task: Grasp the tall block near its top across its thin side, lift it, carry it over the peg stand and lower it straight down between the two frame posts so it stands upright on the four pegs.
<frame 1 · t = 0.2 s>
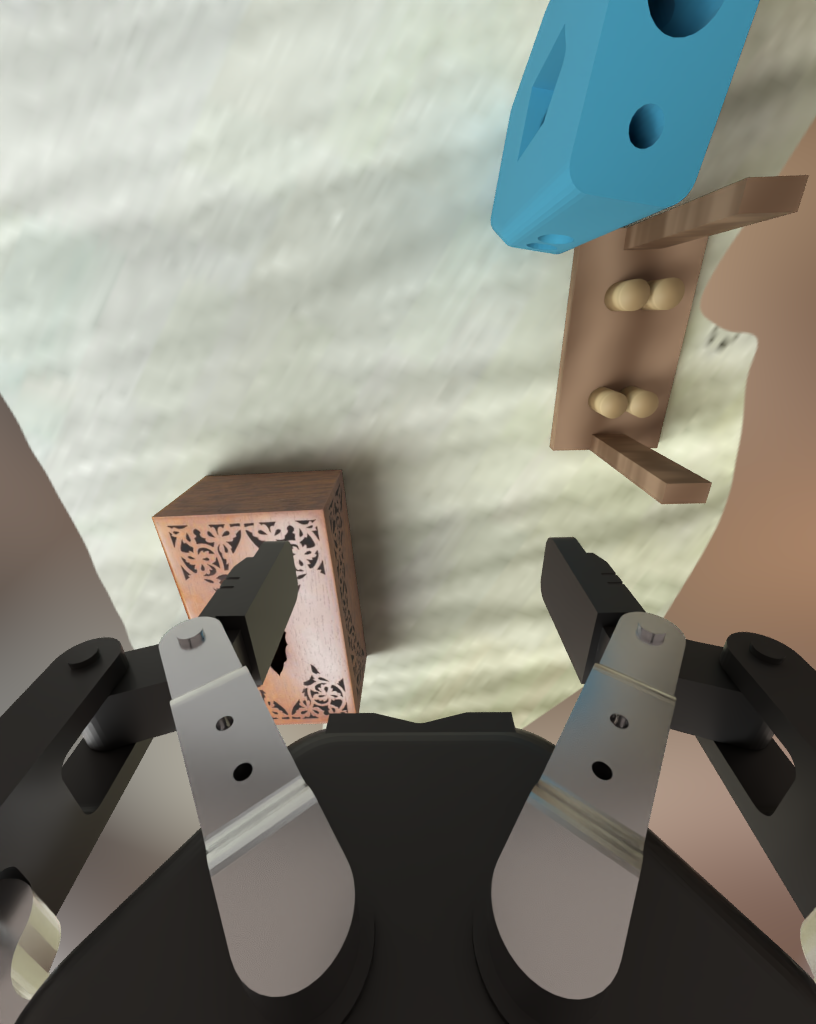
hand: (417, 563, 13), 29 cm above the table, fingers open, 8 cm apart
tissue box cover: (295, 573, 49), on the table
block: (531, 173, 32), on the table
peg stand: (617, 349, 37), on the table
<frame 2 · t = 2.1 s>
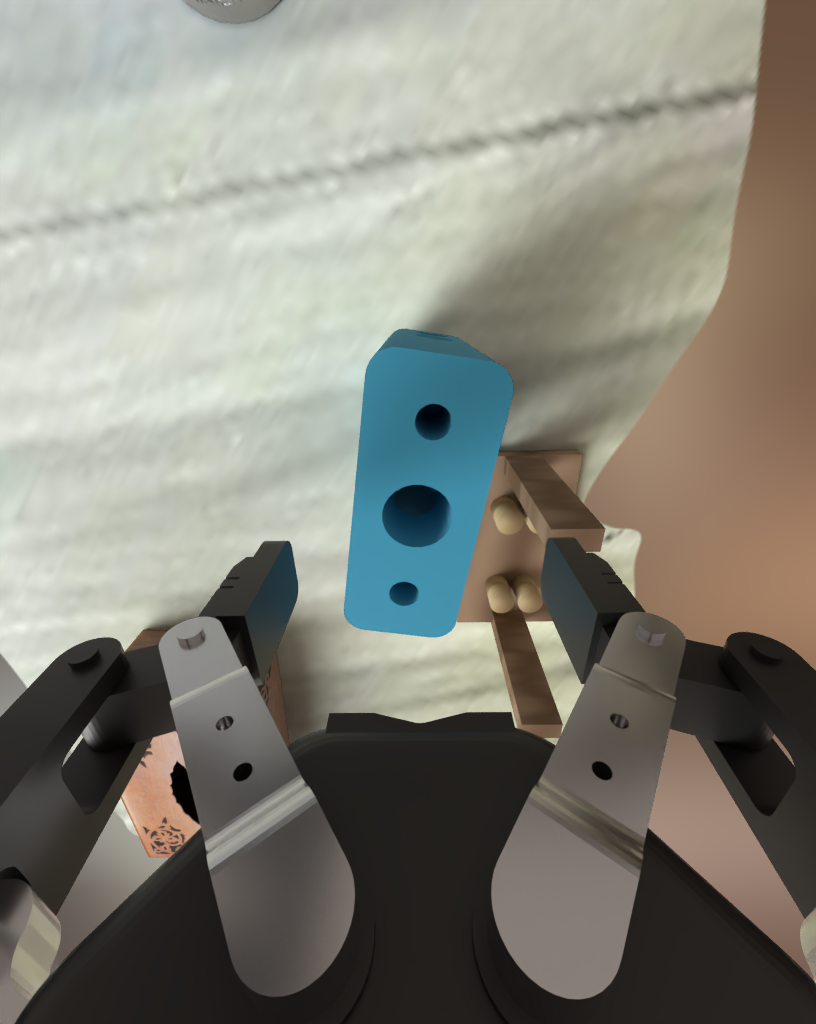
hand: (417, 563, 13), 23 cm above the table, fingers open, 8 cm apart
tissue box cover: (228, 708, 51), on the table
block: (414, 406, 34), on the table
peg stand: (510, 540, 39), on the table
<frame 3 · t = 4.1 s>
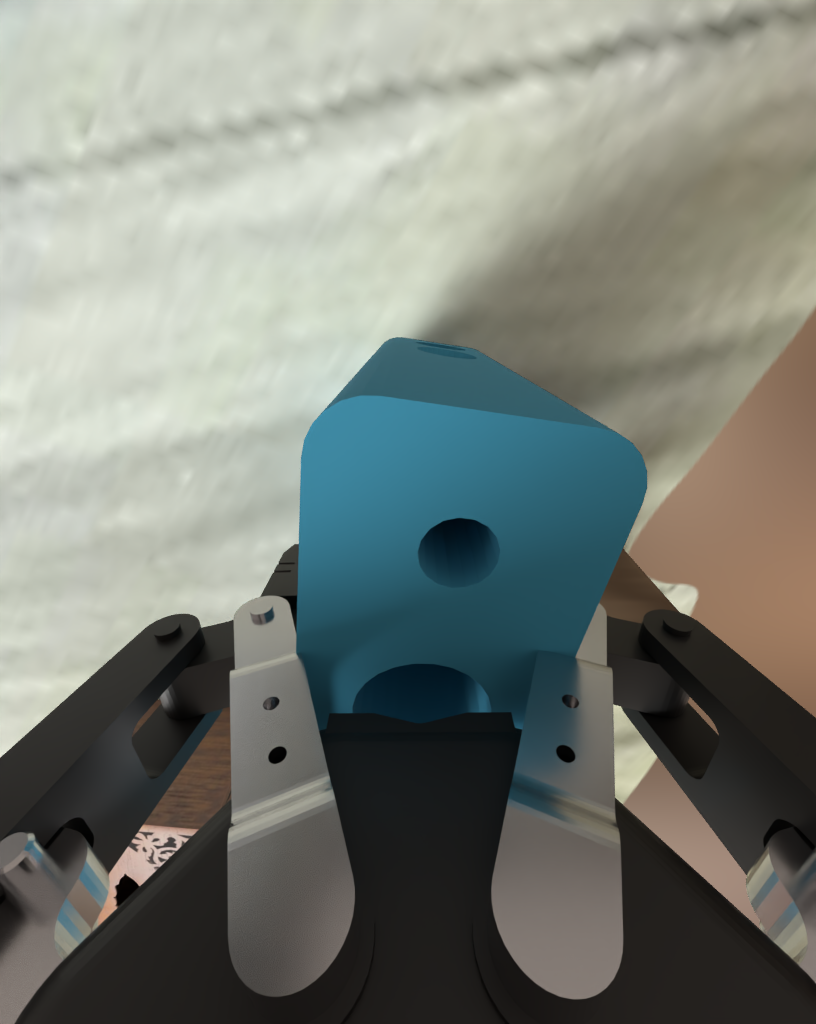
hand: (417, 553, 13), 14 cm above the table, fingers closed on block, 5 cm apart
tissue box cover: (195, 781, 43), on the table
block: (414, 435, 26), on the table, touching gripper
peg stand: (534, 598, 32), on the table
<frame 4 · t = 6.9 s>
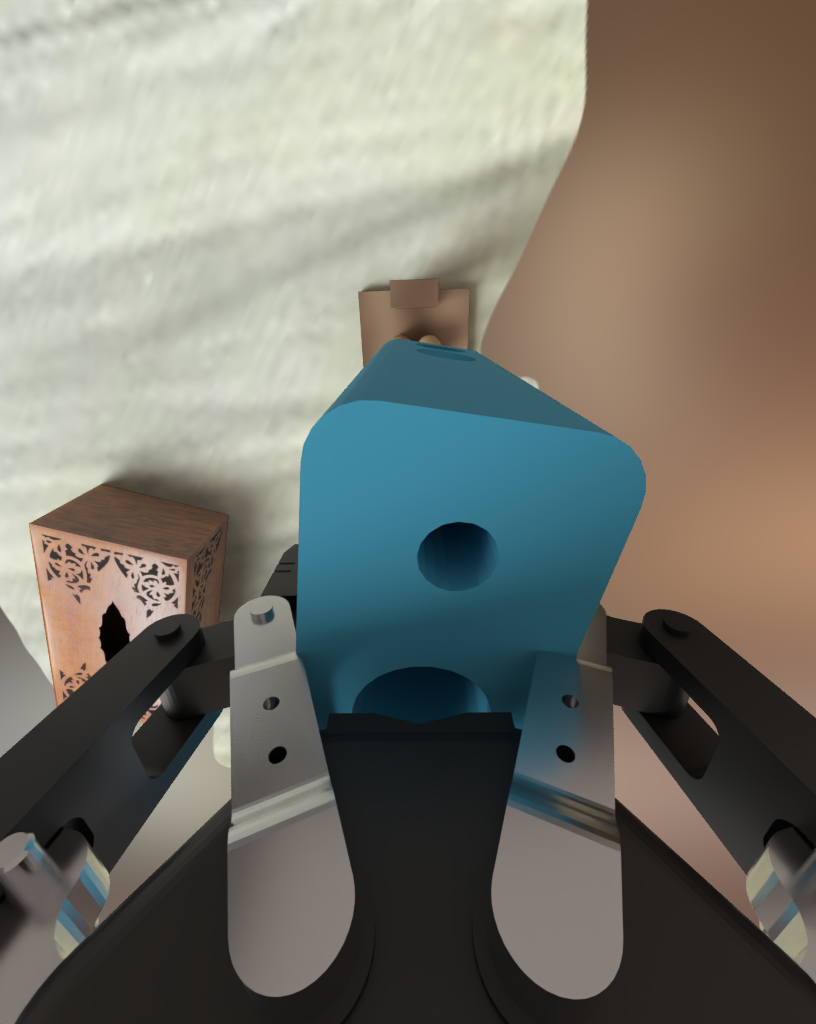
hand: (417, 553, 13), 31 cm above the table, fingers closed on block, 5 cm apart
tissue box cover: (166, 584, 53), on the table
block: (414, 436, 26), point 17 cm above the table, touching gripper
peg stand: (415, 390, 42), on the table
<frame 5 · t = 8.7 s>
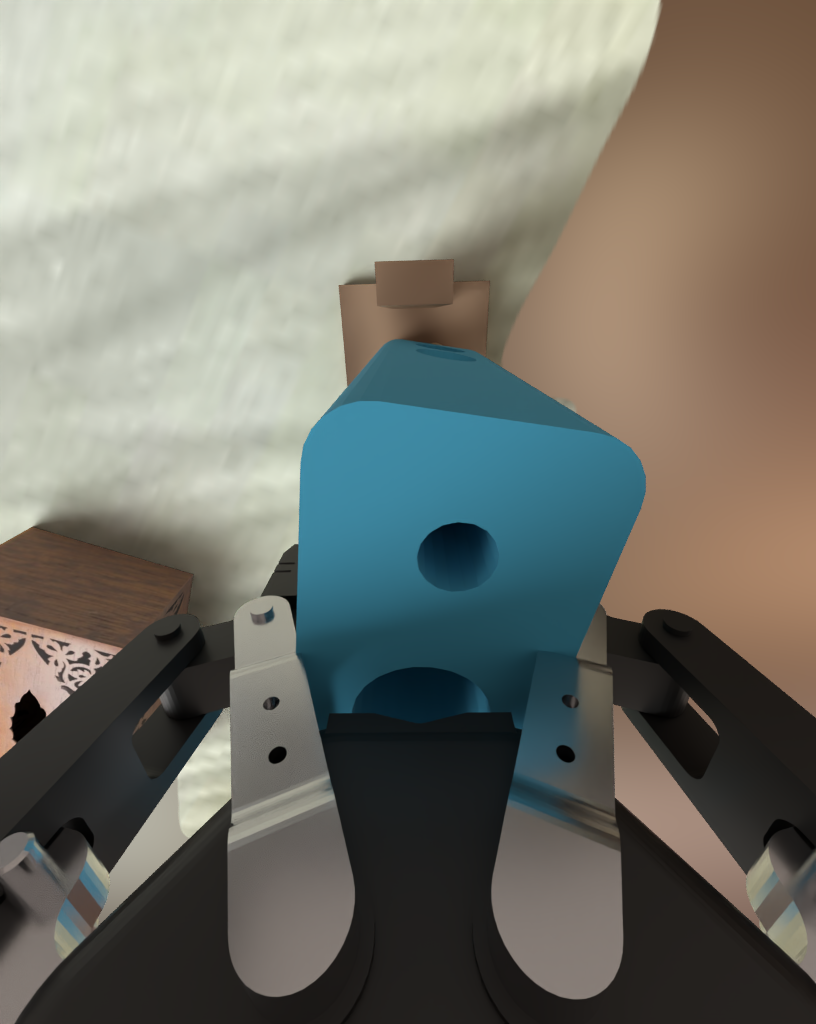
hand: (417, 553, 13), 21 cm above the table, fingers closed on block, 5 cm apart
tissue box cover: (111, 645, 44), on the table
block: (414, 436, 26), point 6 cm above the table, touching gripper
peg stand: (416, 415, 32), on the table
when the fingers open (19 cm above the table, at t = 10.0 s): block stays where it is, resting on peg stand.
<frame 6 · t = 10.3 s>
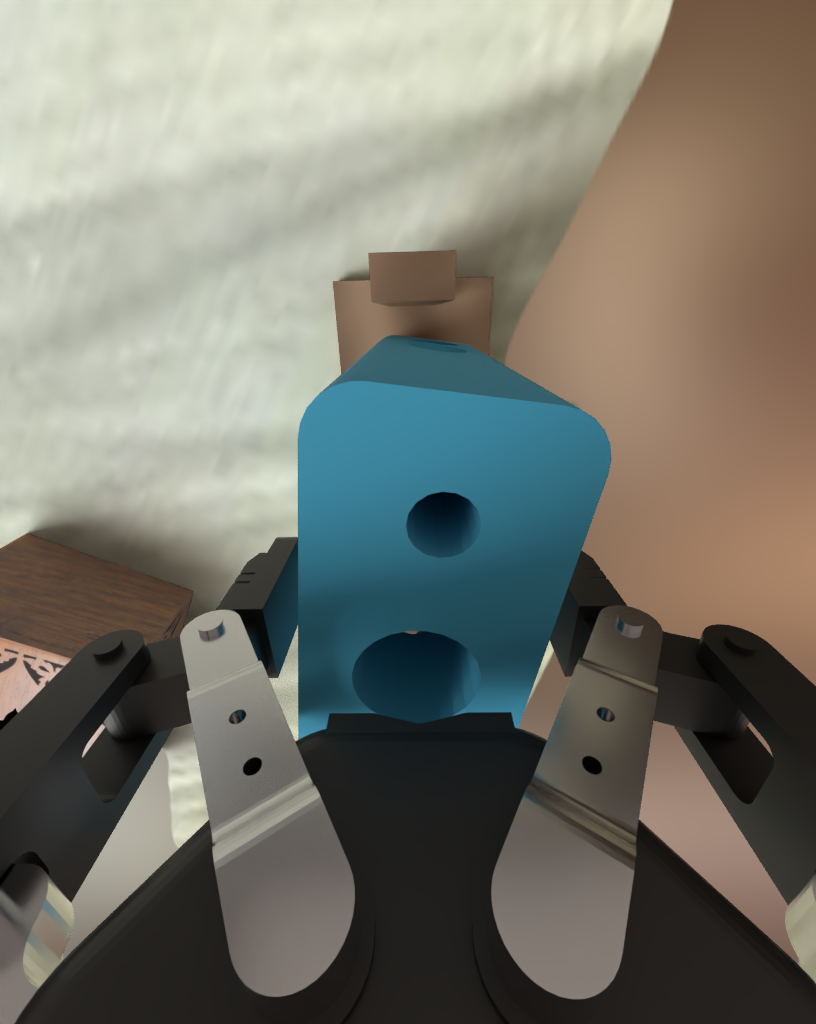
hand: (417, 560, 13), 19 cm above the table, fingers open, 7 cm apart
tissue box cover: (99, 655, 42), on the table
block: (413, 431, 27), point 4 cm above the table, touching peg stand
peg stand: (415, 418, 30), on the table
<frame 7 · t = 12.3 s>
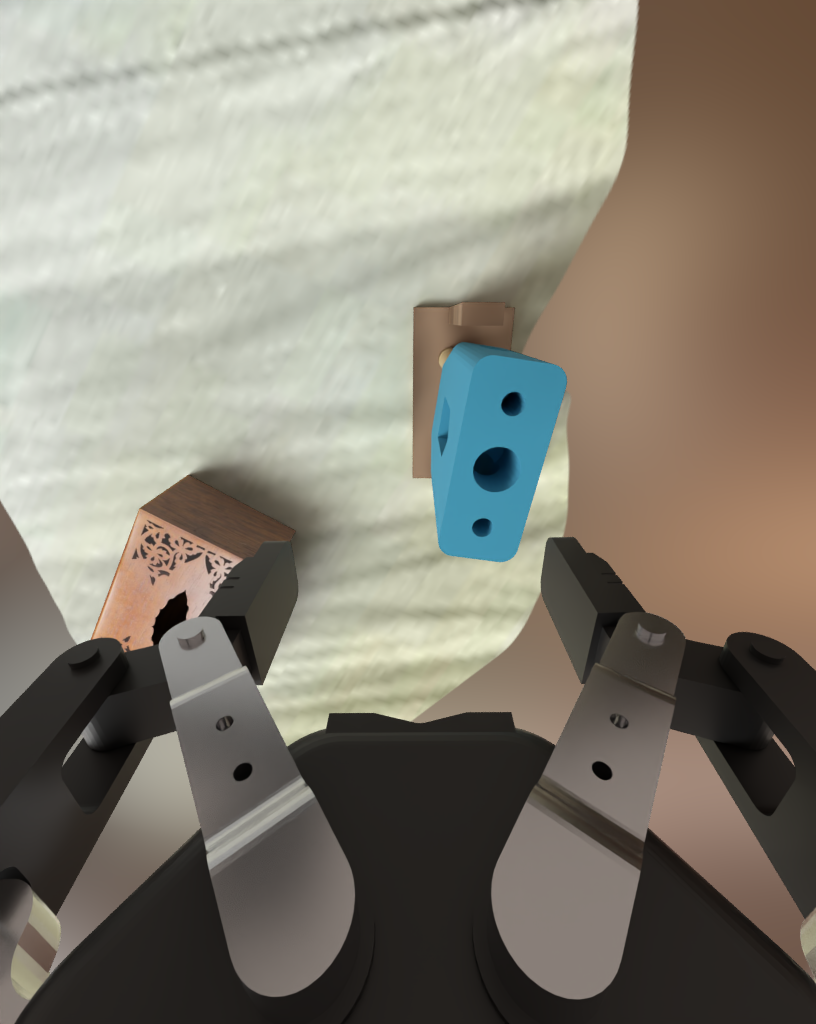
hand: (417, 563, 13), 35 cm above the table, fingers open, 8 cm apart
tissue box cover: (209, 574, 56), on the table
block: (460, 404, 42), point 4 cm above the table, touching peg stand
peg stand: (458, 398, 45), on the table
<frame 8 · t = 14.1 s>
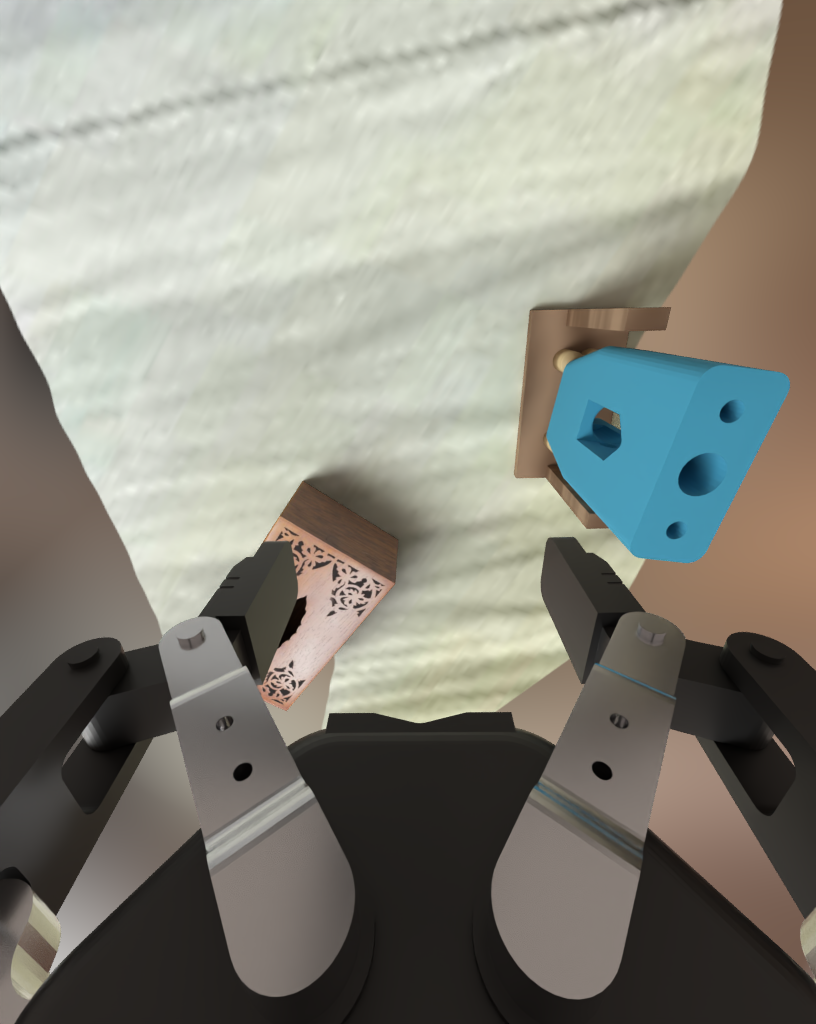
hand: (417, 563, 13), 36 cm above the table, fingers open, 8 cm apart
tissue box cover: (304, 576, 58), on the table
block: (578, 404, 42), point 4 cm above the table, touching peg stand
peg stand: (565, 398, 46), on the table
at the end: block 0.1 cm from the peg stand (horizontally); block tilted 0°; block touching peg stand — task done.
